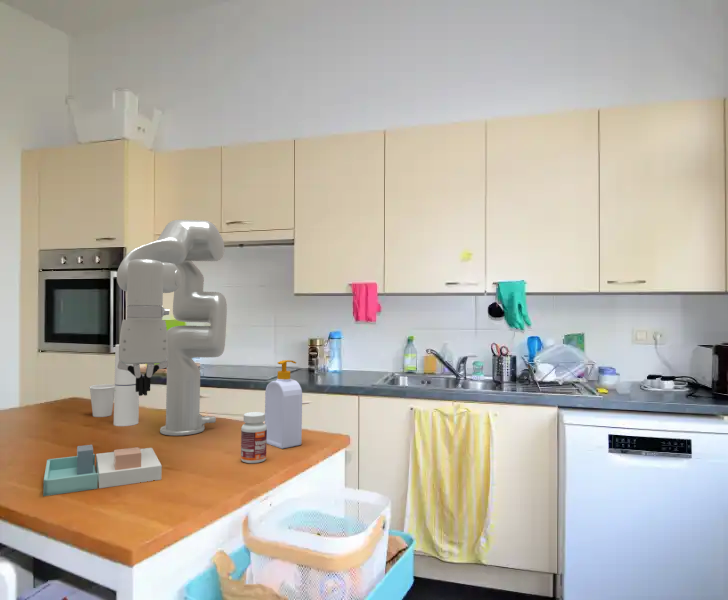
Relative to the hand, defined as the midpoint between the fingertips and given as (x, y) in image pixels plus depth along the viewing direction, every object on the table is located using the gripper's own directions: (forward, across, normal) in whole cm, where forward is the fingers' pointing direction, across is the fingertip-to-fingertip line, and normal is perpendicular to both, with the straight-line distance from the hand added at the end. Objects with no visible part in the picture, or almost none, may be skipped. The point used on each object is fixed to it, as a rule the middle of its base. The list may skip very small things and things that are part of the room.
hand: (142, 394), depth 116 cm
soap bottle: (+17, -37, -10) cm, 42 cm away
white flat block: (+17, +3, 0) cm, 18 cm away
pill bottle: (+18, -25, +2) cm, 31 cm away
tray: (+17, +14, 0) cm, 22 cm away
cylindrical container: (+17, +1, -54) cm, 56 cm away
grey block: (+14, +10, -4) cm, 18 cm away
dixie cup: (+17, +8, -70) cm, 73 cm away
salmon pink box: (+14, +3, +4) cm, 15 cm away
